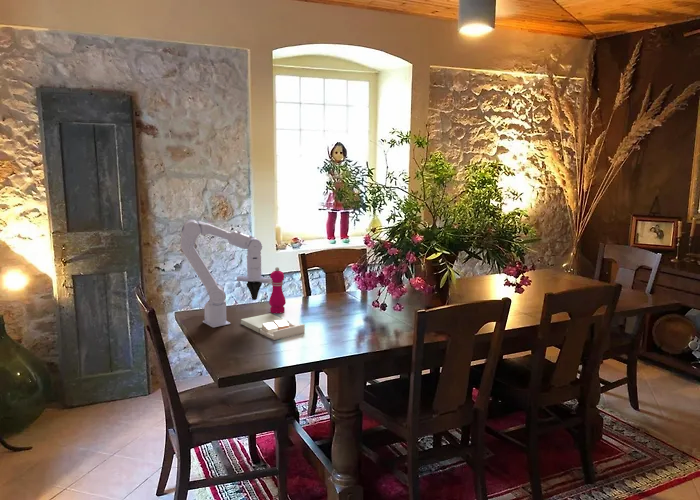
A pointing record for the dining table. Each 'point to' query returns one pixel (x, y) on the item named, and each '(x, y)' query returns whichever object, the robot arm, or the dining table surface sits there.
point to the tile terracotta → (281, 324)
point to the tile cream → (269, 327)
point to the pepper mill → (277, 292)
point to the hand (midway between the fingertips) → (254, 299)
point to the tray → (285, 332)
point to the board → (260, 321)
